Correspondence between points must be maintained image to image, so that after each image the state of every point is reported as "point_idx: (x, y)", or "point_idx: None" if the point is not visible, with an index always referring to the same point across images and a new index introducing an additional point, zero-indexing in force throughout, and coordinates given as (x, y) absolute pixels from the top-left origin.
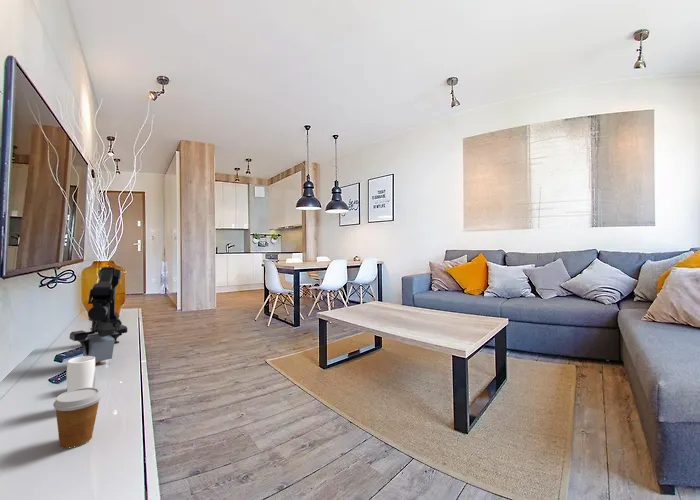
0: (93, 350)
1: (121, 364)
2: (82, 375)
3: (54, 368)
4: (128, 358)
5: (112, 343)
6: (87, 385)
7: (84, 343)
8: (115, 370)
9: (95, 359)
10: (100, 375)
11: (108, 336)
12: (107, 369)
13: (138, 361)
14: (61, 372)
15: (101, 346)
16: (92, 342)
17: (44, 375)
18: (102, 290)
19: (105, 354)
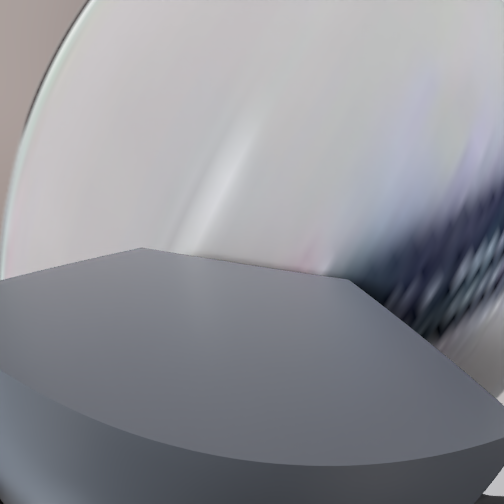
0: (398, 331)
1: (132, 120)
2: None
3: None
4: (49, 237)
5: (11, 293)
6: None
7: (478, 499)
8: (253, 4)
9: (307, 278)
10: (386, 4)
11: (18, 502)
12: (277, 80)
13: (43, 101)
14: (460, 328)
15: (251, 341)
16: (490, 481)
17: (501, 343)
18: None
19: (189, 269)
